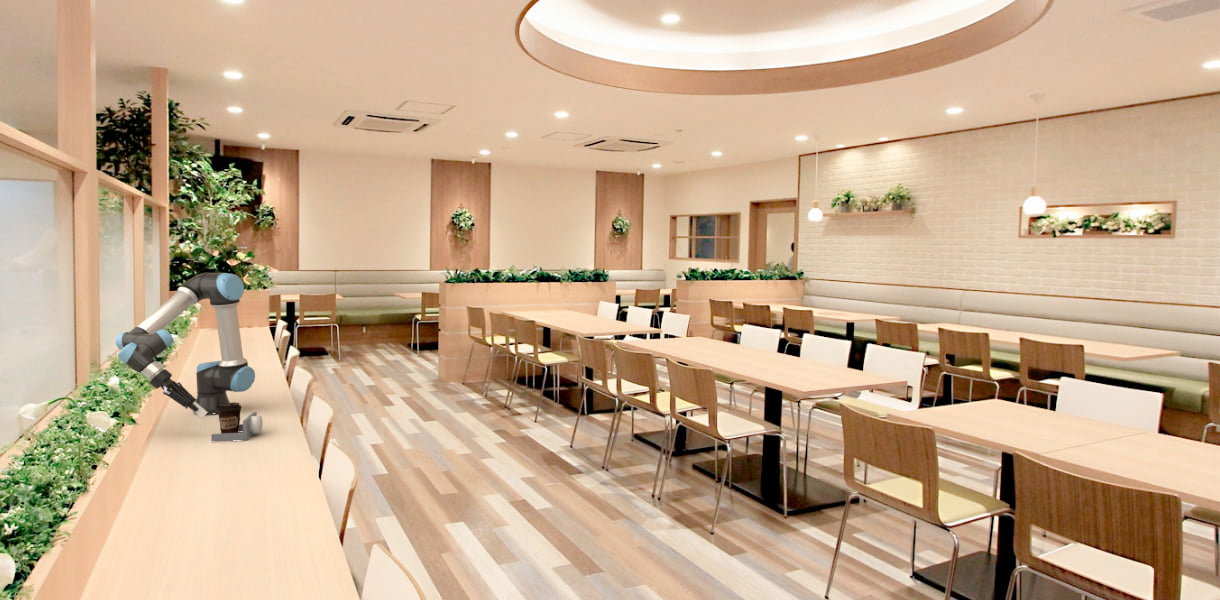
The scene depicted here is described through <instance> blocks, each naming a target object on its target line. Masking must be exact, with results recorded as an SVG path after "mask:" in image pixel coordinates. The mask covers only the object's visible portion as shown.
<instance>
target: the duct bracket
mask: <svg viewBox="0 0 1220 600" xmlns="http://www.w3.org/2000/svg"><path fill="white" fill-rule="evenodd" d="M263 422H264V421H263V417H262V415H258V413H257V411H253V412H252V413H251V414H249V415H248V416H247V417H245V419H244V420H242V424H241V423H239V429H238V431H243V432H239V433H224V434H221V433H212V434H211V435H210V437H211V438H210V439H211V442H212V441H230V442H234V441H233V440H247V439H248V440H249V439H250V438H251V437H252V436H253V435H254V434H261V433H262V431H263ZM248 440H247V441H248Z"/></svg>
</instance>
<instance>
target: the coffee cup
mask: <svg viewBox="0 0 1220 600" xmlns="http://www.w3.org/2000/svg"><path fill="white" fill-rule="evenodd" d="M241 410H242V406H241V403H240V402H230V403H225V404H221V405H220V407H219V408H218V412H219V414H218V421H219V428H220V429H219V430H220V434H224V433H240V432H238V429H239V424H241V423H240V422H241Z"/></svg>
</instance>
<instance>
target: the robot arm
mask: <svg viewBox="0 0 1220 600" xmlns="http://www.w3.org/2000/svg"><path fill="white" fill-rule="evenodd" d="M244 293H245V286H244V282H243V281H242V279H241V278H240V277H239V276H238V275H236V274H235V273H234V274H233V273H227V272H202V273H200V274H197V275H195V276H193V277H191V278H190V279H188V280H187V281H186V282H184V283H182V285H180V286H179V287H178V288H177V290H176V292H175V294H174V295H172V296H171V297H169V299H167V301H165V302H164V303H162V305H160V306H159V307H158V308H156V310H154V311H153V312H152V313H150V315H148V316H147V317H145V319H144V320H142V321H141V322H140V323H139V324H138V325H136V326H135V327H134V328H132V329H131V330H130V331H126V332H121V333H119V334H118V335H117V336H116V338H115V345H116V347H117V348H118V349H119V350H120V351H119V352H118V353H117V357H118V358H119V359H120V361H122V363H124V365H126V366H128V367H129V368H130V369H131V370H133V371H134V370H135V371H137V372H140V373H142V374H144V375H145V376H146V377H147V378H148V380H149V381H148V382H149V385H151V386H152V387H153V388H155V389H160V388H161V389H162V390H163V392H162V394H163V395H165V396H168V397H169V398H170V399H172V400H174V402H176V403H178V404H179V405H181V406H182V407H183V408H185V409H188V408H189V409H190V410H191V411H192V413H193V412H194V413H196V414H195V415H197V416H199V417H200V418H201V419H203V418H204V417H205V416H207V415H206V414H213V413H219V412H218V408H219V407H220V405H221V404H225V403H231V402H230V400H229V398H228V395H227V392H233V393H238V392H239V393H242V392H247V391H248V390H249V389H251V387H252V385H253V384H254V382H255V379H256V371H255V370H254V368H253V367H251V366H249V363H248V359H246V358H245V357H244V356H243V355H244V354H243V346H242V338H241V329H240V322H239V315H238V308H237V307H238V304H239V303H240V299H241V298H242V297H243V296H244V295H243V294H244ZM207 299H208V300H209V305H210V306H211V307H213V309H214V311H215V312H214V313H215V319H216V325H217V326H216V327H217V335H218V342H219V349H220V356H221V360H216V361H215V360H214V361H209V362H208V361H207V362H202V363H199V364H198V365H197V366H196V372H195V373H196V391H197V392H196V394H197V396H196V398H195V397H194V396H193V395H192V394H191V392H190V391H188V390H187V389H186V388H185V387H184V386H183V385H182V383H181V382H179V381H178V382H176V381H175V380H173V379H171V378H172V376H173V374H172V373H171V372H170V371H168V370H167V369H164V366H163V365H161V364H160V363H159V362H158V361H157V360H155V359H154V358H155V357H157V356H159V355H160V354H161V353H162V352H164V351H166V350H167V349H168V348H170V347H171V346H172V345H173V344H174V337H173V336H172V334H171V332H169V331H167V330H165V328H166V327H167V326H168V325H170V324H171V323H172V322H173V321H174V320H175V319H177V317H179V316H180V315H181V314H182V313H184V311H186V310H187V309H188V308H189V307H191V305H197V303H199V302H200V301H202V300H207ZM135 371H134V372H135ZM141 371H142V372H141ZM194 413H193V414H194ZM213 415H214V414H213Z"/></svg>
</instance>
